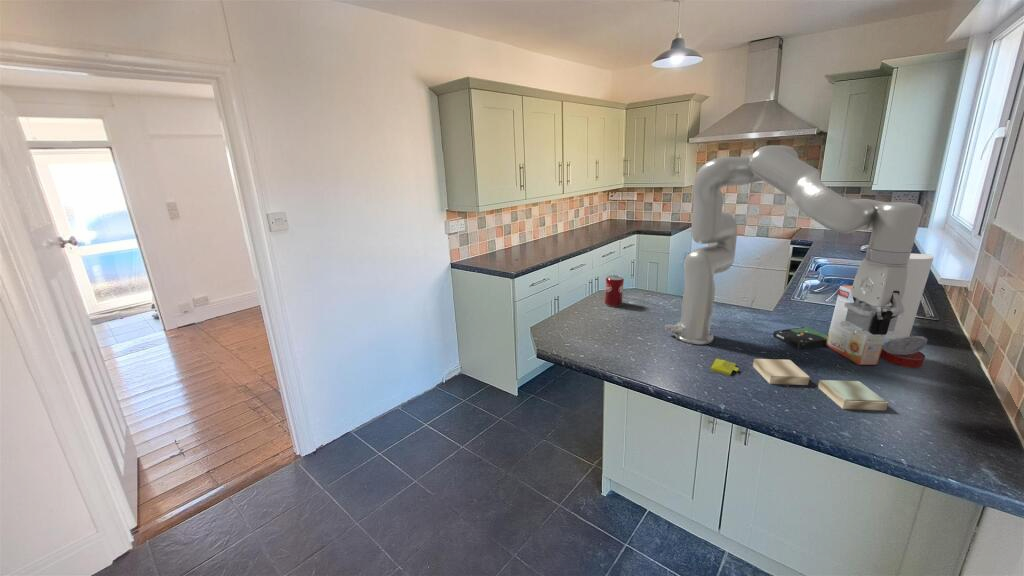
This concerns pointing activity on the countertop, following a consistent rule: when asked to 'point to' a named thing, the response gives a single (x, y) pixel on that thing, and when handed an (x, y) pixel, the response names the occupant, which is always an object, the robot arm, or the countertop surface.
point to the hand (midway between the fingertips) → (868, 327)
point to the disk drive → (801, 337)
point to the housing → (864, 319)
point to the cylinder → (912, 292)
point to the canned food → (904, 351)
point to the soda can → (614, 291)
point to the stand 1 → (781, 372)
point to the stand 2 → (852, 395)
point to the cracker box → (852, 335)
